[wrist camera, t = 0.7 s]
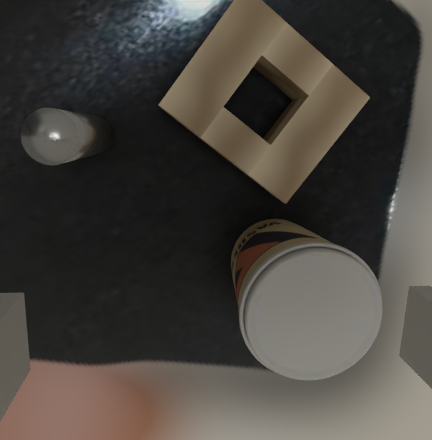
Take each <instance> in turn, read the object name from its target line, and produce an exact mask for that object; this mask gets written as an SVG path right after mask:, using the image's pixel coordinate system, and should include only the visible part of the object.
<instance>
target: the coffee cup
mask: <svg viewBox="0 0 432 440" xmlns="http://www.w3.org/2000/svg"><path fill="white" fill-rule="evenodd" d="M231 269H232V276H233V282H234V288H235V293H236V299H237V304H238V310H239V322H240V329H241V333H242V336H243V339H244V341H245V343H246V345H247V347H248V348H249V350H250V351H251V353H252V354H253V355H254V356H255V358H256V359H257V360H258V361H259V362H260V363H262V364H263V365H264V366H266V367H267V368H269V369H270V370H272V371H274V372H276V373H279V374H281V375H283V376H285V377H289V378H292V379H298V380H319V379H324V378H328V377H331V376H334V375H336V374H339V373H341V372H343V371H345V370H347V369H348V368H349V367H351V366H352V365H354V364H355V363H356V362H358V361H359V360H360V358H362V357H363V356H364V354H365V353H366V352H367V351H368V350H369V348H370V347H371V345H372V343H373V342H374V340H375V339H376V336H377V334H378V331H379V328H380V325H381V320H382V297H381V291H380V287H379V284H378V282H377V279H376V277H375V275H374V274H373V272H372V271H371V269H370V268H369V266H368V265H367V264H366V263H365V262H364V261H363V260H362V259H361V258H360V257H358V256H357V255H356V254H354V253H353V252H351V251H350V250H348V249H346V248H344V247H341V246H338V245H336V244H333V243H331V242H329V241H327V240H326V239H324V238H322V237H320V236H318V235H316V234H314V233H313V232H311V231H309V230H307V229H305V228H303V227H301V226H299V225H297V224H295V223H292V222H290V221H287V220H283V219H267V220H263V221H260V222H257V223H255V224H254V225H252V226H250V227H249V228H248V229H246V230H245V231H244V232H243V233H242V234H241V236H240V237H239V238H238V240H237V241H236V243H235V245H234V248H233V251H232V256H231Z"/></svg>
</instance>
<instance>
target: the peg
mask: <svg viewBox="0 0 432 440" xmlns="http://www.w3.org/2000/svg"><path fill="white" fill-rule="evenodd" d="M113 140H114V132H113V129H112V127H111V125H110V124H109V123H108V122H107V121H106V120H105V119H103V118H101V117H97V116H92V115H87V114H81V113H76V112H70V111H65V110H59V109H54V108H41V109H38V110H35V111H33V112H32V113H30V114H29V115H28V116H27V117H26V119H25V120H24V122H23V124H22V127H21V141H22V145H23V147H24V149H25V150H26V152H27V153H28V154H29V155H30V156H31V157H32V158H33V159H34V160H36V161H37V162H40V163H42V164H45V165H59V164H63V163H66V162H70V161H73V160H77V159H81V158H84V157H88V156H92V155H95V154H99V153H102V152H105V151H106V150H108V149H109V148H110V147H111V145H112V143H113Z"/></svg>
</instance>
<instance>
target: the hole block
mask: <svg viewBox="0 0 432 440" xmlns="http://www.w3.org/2000/svg"><path fill="white" fill-rule="evenodd" d="M253 67H254V68H255V69H256V70H257V71H259V72H260V73H261V74H262V75H263V76H264V77H266V78H267V79H268V80H269V81H270V82H272V83H273V84H274V85H275V86H276V87H277V88H279V89H280V90H281V91H282V92H283V93H284V94H286V95H287V96H288V97H289V98H290V99H292V101H291V103H290V104H289V105H288V107H287V108H286V109H285V110H284V112H283V113H282V114H281V116H280V117H279V118H278V120H277V121H276V122H275V124H274V125H273V126H272V127H271V129H270V130H269V131H268V133H267V134H266V135H265V137H264V138H263V139H262V138H261V137H260V136H259V135H258V134H256V133H255V132H254V131H253V130H251V129H250V128H249V127H248V126H246V125H245V124H244V123H243V122H241V121H240V120H239V119H238V118H237V117H235V116H234V115H233V114H232V113H230V112H229V111H228V110H227V109H225V108H224V105H225V104H226V103H227V101H228V100H229V99H230V97H231V96H232V95H233V93H234V92H235V90H236V89H237V88H238V86H239V85H240V84H241V82H242V81H243V80H244V78H245V77H246V76H247V74H248V73H249V72H250V70H251V69H252V68H253ZM369 98H370V97H369V96H368V95H367V94H366V93H364V92H363V91H362V90H361V89H360V88H359V87H358V86H357V85H356V84H354V83H353V82H352V81H351V80H350V79H349V78H348V77H347V76H345V75H344V74H343V73H342V72H341V71H340V70H339V69H338V68H337V67H335V66H334V65H333V64H332V63H331V62H330V61H329V60H328V59H327V58H325V57H324V56H323V55H322V54H321V53H320V52H319V51H318V50H317V49H315V48H314V47H313V46H312V45H311V44H310V43H309V42H308V41H306V40H305V39H304V38H303V37H302V36H301V35H300V34H299V33H298V32H296V31H295V30H294V29H293V28H292V27H291V26H290V25H289V24H288V23H286V22H285V21H284V20H283V19H282V18H281V17H280V16H279V15H278V14H276V13H275V12H274V11H273V10H272V9H271V8H270V7H269V6H268V5H266V4H265V3H264V2H263V1H262V0H234V1H233V2H232V4H231V5H230V6H229V8H228V9H227V11H226V12H225V13H224V15H223V16H222V18H221V19H220V20H219V22H218V23H217V24H216V26H215V27H214V29H213V30H212V31H211V33H210V34H209V36H208V37H207V38H206V40H205V41H204V42H203V44H202V45H201V47H200V48H199V49H198V51H197V52H196V54H195V55H194V56H193V58H192V59H191V61H190V62H189V63H188V65H187V66H186V67H185V69H184V70H183V72H182V73H181V74H180V76H179V77H178V79H177V80H176V81H175V83H174V84H173V85H172V87H171V88H170V90H169V91H168V92H167V94H166V95H165V97H164V98H163V99H162V101H161V102H160V103H159V106H160V108H161V109H163V110H164V111H165V112H166V113H168V114H169V115H170V116H172V117H173V118H174V119H175V120H177V121H178V122H179V123H181V124H182V125H183V126H184V127H186V128H187V129H188V130H190V131H191V132H192V133H193V134H195V135H196V136H197V137H199V138H200V139H201V140H202V141H204V142H205V143H206V144H208V145H209V146H210V147H211V148H213V149H214V150H215V151H217V152H218V153H219V154H220V155H222V156H223V157H224V158H226V159H227V160H228V161H229V162H231V163H232V164H233V165H235V166H236V167H237V168H238V169H240V170H241V171H242V172H244V173H245V174H246V175H247V176H249V177H250V178H251V179H253V180H254V181H255V182H256V183H258V184H259V185H260V186H262V187H263V188H264V189H265V190H267V191H268V192H269V193H270V194H272V195H273V196H275V197H276V198H278V199H279V200H280V201H282V202H283V203H285V204H286V203H287V202H288V200H289V199H290V198H291V197H292V195H293V194H294V193H295V192H296V190H297V189H298V188H299V187H300V185H301V184H302V183H303V182H304V180H305V179H306V178H307V176H308V175H309V174H310V173H311V171H312V170H313V169H314V168H315V166H316V165H317V164H318V163H319V161H320V160H321V159H322V158H323V156H324V155H325V154H326V153H327V151H328V150H329V149H330V148H331V146H332V145H333V144H334V142H335V141H336V140H337V139H338V137H339V136H340V135H341V134H342V132H343V131H344V130H345V129H346V127H347V126H348V125H349V124H350V122H351V121H352V120H353V119H354V117H355V116H356V115H357V113H358V112H359V111H360V110H361V108H362V107H363V106H364V105H365V103H366V102H367V101H368V100H369Z"/></svg>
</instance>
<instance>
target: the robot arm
mask: <svg viewBox="0 0 432 440" xmlns="http://www.w3.org/2000/svg"><path fill="white" fill-rule="evenodd" d="M399 356H400V357H401V358H402V359H403V360H404V361H405V362H406V363H407V364H408V365H409V366H410V367H411V368H412V369H413V370H414V371H415V372H416V373H417V374H418V375H419V376H420V377H421V378H422V379H423V380H424V381H425V382H426V383H427V384H428V385H429V386H430V387H431V388H432V287H430V286H409V292H408V299H407V306H406V312H405V321H404V326H403V334H402V341H401V348H400V355H399ZM29 371H30V359H29V347H28V336H27V324H26V312H25V300H24V293H0V421H1V419H2V417H3V416H4V414H5V412H6V410H7V409H8V407H9V405H10V403H11V402H12V400H13V399H14V397H15V395H16V393H17V392H18V390H19V388H20V386H21V385H22V383H23V381H24V380H25V378H26V376H27V374H28V372H29Z"/></svg>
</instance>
